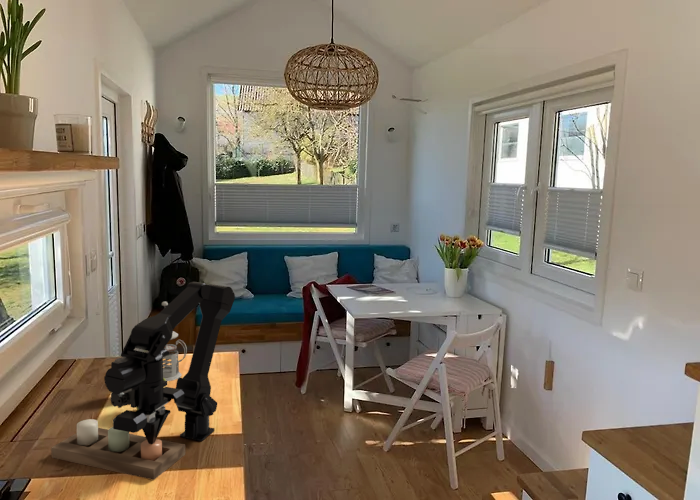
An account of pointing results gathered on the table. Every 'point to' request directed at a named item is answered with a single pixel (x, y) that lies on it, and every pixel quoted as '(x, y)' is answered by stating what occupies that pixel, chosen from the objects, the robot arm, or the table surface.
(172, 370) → the french press
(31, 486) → the table surface
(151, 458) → the button rust
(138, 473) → the wooden compartment tray
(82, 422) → the button cream
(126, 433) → the button sage
